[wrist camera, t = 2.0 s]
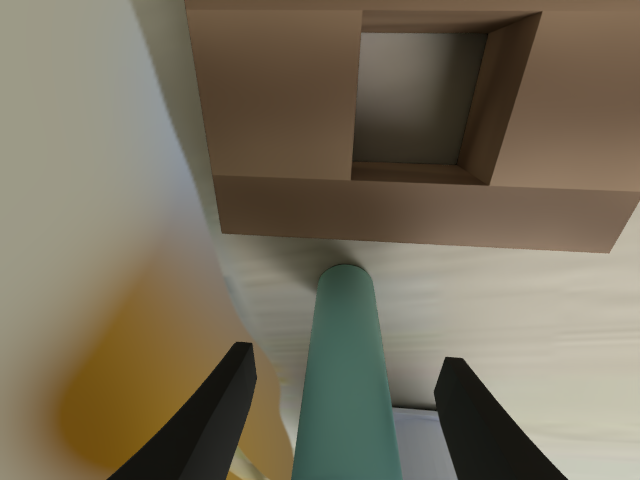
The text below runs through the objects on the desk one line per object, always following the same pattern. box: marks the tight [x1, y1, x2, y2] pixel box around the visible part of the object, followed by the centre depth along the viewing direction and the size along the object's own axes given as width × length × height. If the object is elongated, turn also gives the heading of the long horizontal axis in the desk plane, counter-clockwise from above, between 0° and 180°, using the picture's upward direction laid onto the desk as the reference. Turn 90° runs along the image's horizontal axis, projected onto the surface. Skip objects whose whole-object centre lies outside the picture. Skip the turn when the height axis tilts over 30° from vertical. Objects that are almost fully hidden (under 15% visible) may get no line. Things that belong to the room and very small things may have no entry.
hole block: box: [184, 0, 640, 253], centre depth 10 cm, size 9×14×3 cm, turn 89°
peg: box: [291, 265, 403, 480], centre depth 11 cm, size 3×3×9 cm
